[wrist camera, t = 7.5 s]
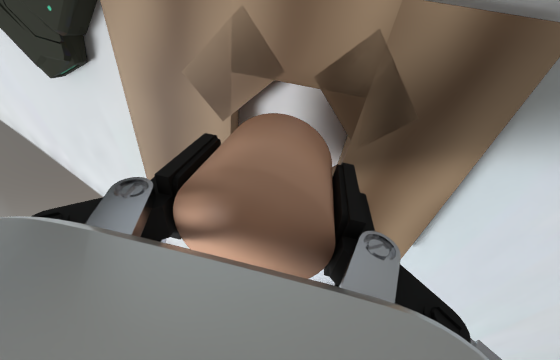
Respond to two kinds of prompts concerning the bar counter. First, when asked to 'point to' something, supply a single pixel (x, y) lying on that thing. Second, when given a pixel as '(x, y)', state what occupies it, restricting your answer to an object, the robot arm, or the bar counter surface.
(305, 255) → the tan rounded lump
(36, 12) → the firearm
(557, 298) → the bar counter surface
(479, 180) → the bar counter surface
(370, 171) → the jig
